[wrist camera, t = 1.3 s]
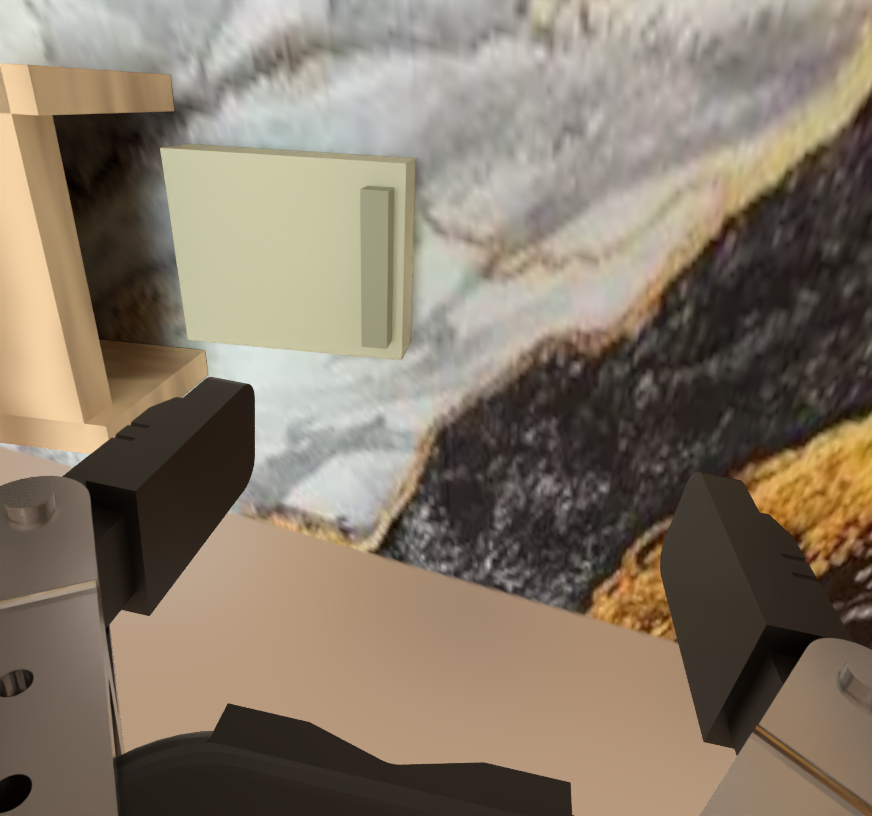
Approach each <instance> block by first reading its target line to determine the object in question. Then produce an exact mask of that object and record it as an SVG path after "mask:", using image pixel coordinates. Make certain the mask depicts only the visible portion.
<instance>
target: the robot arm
mask: <svg viewBox="0 0 872 816" xmlns="http://www.w3.org/2000/svg"><path fill="white" fill-rule="evenodd" d="M254 460H255V395H254V390H253V388H252V386H251V385H250V384H246V383H240V382H235V381H230V380H225V379H220V378H214V377H208V378H207V379H205V380H204V381H203V382H202V383H200V384H199V385H198V386H197V387H196V388H194V389H193V390H192V391H191V392H190V393H189V394H187V395H186V396H185V397H184V398H180V397H175V398H172V399H170V400H167V401H164V402H162V403H159V404H157V405H154V406H152V407H149V408H148V409H147V410H146V411H144V412H143V413H142V414H141V415H139V416H138V417H137V418H135V419H134V420H133V421H132V422H131V425H127V426H125V427H124V428H123V429H122V430H120V431H119V432H118V433H117V434H116V436H115V438H113V437H112V438H110V439H109V440H108V441H106V442H105V443H104V444H103V445H101V446H100V447H99V448H98V449H96V450H95V451H94V452H93V453H91V454H90V455H89V456H88V457H86V458H85V459H84V460H83V461H81V462H80V463H79V464H78V465H76V466H75V467H74V468H72V469H71V470H70V471H69V472H67V473H66V474H65V475H64V476H62V477H59V476H38V477H30V478H25V479H20V480H16V481H13V482H10V483H7V484H4V485H1V486H0V816H574V815H572V805H571V783H570V782H566V781H561V780H557V779H553V778H549V777H544V776H540V775H536V774H531V773H527V772H523V771H518V770H514V769H510V768H505V767H501V766H496V765H493V764H488V763H447V764H411V765H395V764H390V763H387V762H385V761H382V760H380V759H378V758H376V757H375V756H373V755H371V754H369V753H367V752H365V751H363V750H361V749H359V748H357V747H356V746H354V745H352V744H350V743H348V742H346V741H344V740H342V739H340V738H339V737H336V736H335V735H333V734H331V733H329V732H327V731H325V730H323V729H321V728H320V727H318V726H316V725H314V724H312V723H310V722H306V721H302V720H297V719H293V718H289V717H285V716H280V715H276V714H272V713H267V712H263V711H258V710H254V709H250V708H246V707H241V706H237V705H233V704H227V706H226V708H225V710H224V712H223V714H222V716H221V718H220V720H219V722H218V724H217V725H216V727H215V729H214V731H201V732H194V733H188V734H180V735H176V736H173V737H169V738H165V739H161V740H157V741H155V742H152V743H149V744H146V745H143V746H141V747H138V748H135V749H133V750H131V751H129V752H127V753H125V752H124V745H123V736H122V728H121V719H120V710H119V701H118V692H117V683H116V674H115V666H114V656H113V647H112V638H111V631H110V623H111V622H112V621H113V619H114V618H115V617H116V616H117V614H118V613H119V612H120V611H121V610H125V611H130V612H134V613H138V614H143V615H147V616H150V615H151V613H152V612H153V611H154V609H155V608H156V607H157V605H158V604H159V603H160V601H161V600H162V599H163V597H164V596H165V595H166V593H167V592H168V591H169V589H170V588H171V587H172V586H173V584H174V583H175V581H176V580H177V579H178V578H179V576H180V575H181V573H182V572H183V571H184V570H185V568H186V567H187V566H188V564H189V563H190V562H191V560H192V559H193V558H194V556H195V555H196V554H197V552H198V551H199V549H200V548H201V547H202V545H203V544H204V543H205V542H206V540H207V539H208V538H209V536H210V535H211V533H212V532H213V531H214V530H215V528H216V527H217V526H218V524H219V523H220V522H221V520H222V519H223V518H224V516H225V515H226V514H227V512H228V511H229V510H230V508H231V507H232V506H233V504H234V503H235V502H236V500H237V499H238V498H239V496H240V495H241V494H242V492H243V491H244V490H245V488H246V487H247V485H248V483H249V480H250V478H251V474H252V471H253V467H254ZM660 571H661V577H662V581H663V585H664V589H665V593H666V597H667V601H668V605H669V609H670V613H671V616H672V620H673V624H674V628H675V632H676V636H677V640H678V644H679V648H680V651H681V656H682V659H683V663H684V667H685V671H686V675H687V679H688V683H689V687H690V691H691V695H692V698H693V702H694V706H695V710H696V714H697V718H698V722H699V726H700V730H701V734H702V738H703V741H704V742H707V743H711V744H716V745H720V746H725V747H729V748H734V749H735V751H736V755H737V757H736V759H735V761H734V762H733V764H732V765H731V767H730V768H729V770H728V772H727V773H726V775H725V777H724V778H723V780H722V781H721V783H720V784H719V786H718V787H717V789H716V791H715V792H714V794H713V795H712V797H711V799H710V800H709V802H708V803H707V805H706V807H705V808H704V810H703V811H702V813H701V815H700V816H872V650H870V649H868V648H866V647H864V646H861V645H859V644H856V643H854V642H853V640H852V638H851V636H850V635H849V633H848V631H847V630H846V628H845V626H844V624H843V623H842V621H841V619H840V617H839V616H838V614H837V612H836V611H835V609H834V607H833V605H832V604H831V602H830V600H829V598H828V597H827V595H826V593H825V592H824V590H823V588H822V586H821V585H820V583H819V582H816V576H815V574H814V573H813V571H812V569H811V567H810V566H809V564H808V563H806V562H805V557H804V555H803V554H802V552H801V550H800V548H799V547H798V545H797V543H796V541H795V540H794V538H793V536H792V535H791V534H790V533H789V532H787V531H786V530H785V529H784V528H783V527H782V526H781V525H780V524H779V523H778V522H777V521H775V520H774V519H773V518H772V517H771V516H770V515H769V514H765V513H760V512H759V510H758V509H757V507H756V505H755V503H754V501H753V499H752V497H751V495H750V494H749V492H748V490H747V488H746V486H745V484H744V483H743V482H742V481H741V480H737V479H732V478H727V477H722V476H716V475H711V474H706V473H701V472H695V473H693V474H692V475H691V477H690V478H689V480H688V482H687V484H686V487H685V489H684V492H683V494H682V497H681V499H680V502H679V504H678V507H677V510H676V512H675V515H674V517H673V520H672V522H671V525H670V527H669V530H668V532H667V535H666V537H665V540H664V543H663V547H662V552H661V560H660Z"/></svg>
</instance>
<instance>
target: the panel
mask: <svg viewBox="0 0 872 816" xmlns="http://www.w3.org/2000/svg"><path fill="white" fill-rule="evenodd" d="M160 151H161V158H162V165H163V172H164V179H165V186H166V193H167V199H168V206H169V213H170V220H171V227H172V234H173V241H174V248H175V255H176V262H177V269H178V275H179V282H180V289H181V296H182V303H183V310H184V317H185V324H186V331H187V338H188V340H193V341H204V342H214V343H225V344H235V345H246V346H256V347H267V348H277V349H288V350H298V351H309V352H319V353H330V354H340V355H351V356H361V357H372V358H382V359H393V360H402V359H403V357H404V354H405V352H406V350H407V348H408V346H409V344H410V342H411V310H412V276H413V241H414V207H415V173H416V158H404V157H388V156H372V155H356V154H340V153H324V152H308V151H292V150H276V149H260V148H244V147H228V146H212V145H196V144H186V145H178V146H170V147H163V148H160Z"/></svg>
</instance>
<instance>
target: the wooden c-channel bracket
mask: <svg viewBox="0 0 872 816" xmlns="http://www.w3.org/2000/svg"><path fill="white" fill-rule="evenodd" d="M164 111H175V110H174V102H173V94H172V86H171V78H170V75H166V74H152V73H137V72H123V71H108V70H94V69H79V68H65V67H50V66H36V65H20V64H3V63H0V443H8V444H16V445H24V446H32V447H40V448H48V449H56V450H64V451H73V452H81V453H89V454H91V453H93V452H94V451H95V450H96V449H98V448H99V447H100V446H101V445H103V444H104V443H105V442H106V441H108V440H109V439H110V438H112V437H113V438H115V436H116V434H117V433H118V432H119V431H120V430H122V429H123V428H124V427H125V426H127V425H131V422H132V421H133V420H134V419H135V418H137V417H138V416H139V415H141V414H142V413H143V412H144V411H146V410H147V409H148V408H149V407H152V406H154V405H157V404H159V403H162V402H164V401H167V400H170V399H172V398H175V397H180V398H182V397H183V396H184V395H185V394H186V393H188V392H189V391H190V390H191V389H192V388H193V387H195V386H196V385H197V384H198V383H199V382H200V381H202V380H203V379H204V378H205V377H206V376H207V375H208V371H207V363H206V355H205V350H196V349H187V348H177V347H167V346H158V345H148V344H138V343H129V342H119V341H109V340H100V339H99V337H98V332H97V327H96V323H95V318H94V313H93V308H92V303H91V299H90V294H89V289H88V284H87V279H86V275H85V270H84V265H83V260H82V255H81V251H80V246H79V241H78V236H77V231H76V226H75V222H74V217H73V212H72V207H71V202H70V198H69V193H68V188H67V183H66V178H65V174H64V169H63V164H62V159H61V154H60V150H59V145H58V140H57V135H56V130H55V125H54V121H53V116H52V115H71V114H102V113H133V112H164Z"/></svg>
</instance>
